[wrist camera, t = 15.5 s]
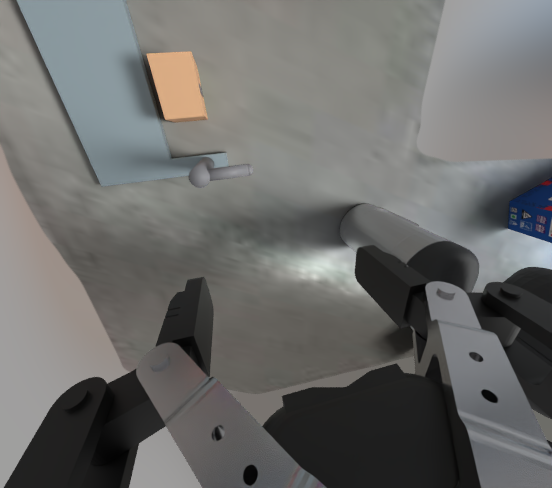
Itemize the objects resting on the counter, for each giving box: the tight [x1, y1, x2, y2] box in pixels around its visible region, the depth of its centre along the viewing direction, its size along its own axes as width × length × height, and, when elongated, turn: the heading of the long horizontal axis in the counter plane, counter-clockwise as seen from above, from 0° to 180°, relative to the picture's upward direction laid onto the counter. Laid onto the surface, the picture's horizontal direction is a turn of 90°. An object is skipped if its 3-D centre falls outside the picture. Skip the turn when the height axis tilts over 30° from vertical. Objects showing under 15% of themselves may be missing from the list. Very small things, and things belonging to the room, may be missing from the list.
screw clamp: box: [17, 0, 253, 188], centre depth 22 cm, size 21×24×14 cm
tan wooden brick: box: [147, 52, 208, 122], centre depth 27 cm, size 5×6×6 cm
